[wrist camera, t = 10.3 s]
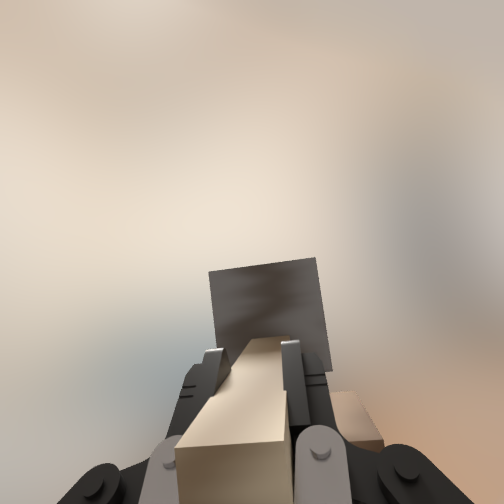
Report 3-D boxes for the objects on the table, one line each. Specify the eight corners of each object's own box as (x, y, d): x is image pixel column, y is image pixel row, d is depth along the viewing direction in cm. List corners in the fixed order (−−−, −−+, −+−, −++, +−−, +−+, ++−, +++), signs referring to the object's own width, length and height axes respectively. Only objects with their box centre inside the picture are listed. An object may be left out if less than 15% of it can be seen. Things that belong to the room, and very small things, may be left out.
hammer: (83, 571, 7) (66, 254, 7) (234, 362, 24) (223, 273, 24) (421, 565, 6) (360, 210, 7) (324, 353, 23) (311, 262, 24)
